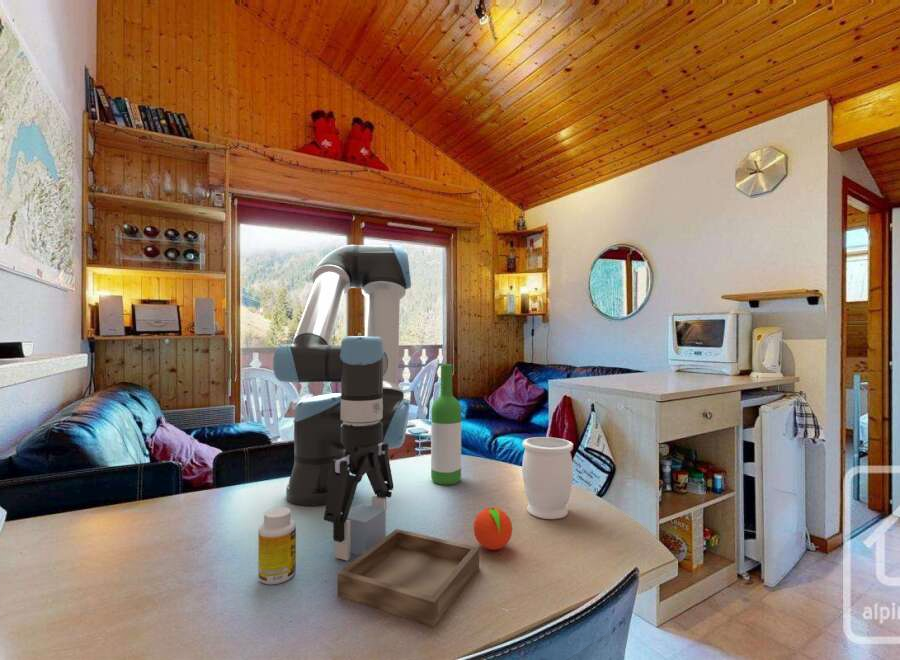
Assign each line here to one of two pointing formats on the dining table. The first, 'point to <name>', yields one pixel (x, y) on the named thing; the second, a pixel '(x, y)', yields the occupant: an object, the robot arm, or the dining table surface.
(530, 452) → the jar
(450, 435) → the wine bottle
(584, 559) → the dining table surface
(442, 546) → the walnut tray
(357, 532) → the grey cube
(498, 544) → the clementine
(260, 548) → the supplement bottle
